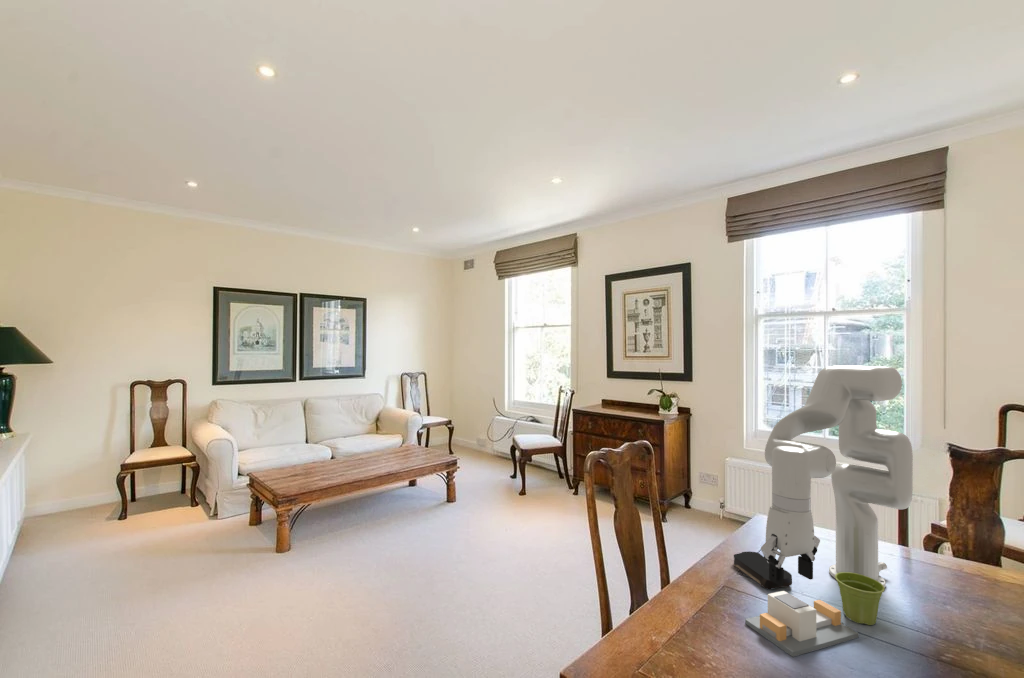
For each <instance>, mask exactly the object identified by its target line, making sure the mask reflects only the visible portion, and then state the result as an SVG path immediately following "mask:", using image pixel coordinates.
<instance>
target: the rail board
mask: <svg viewBox="0 0 1024 678" xmlns="http://www.w3.org/2000/svg"><path fill="white" fill-rule="evenodd" d="M810 606H811V605H810ZM811 607H813V608H815V609H816V637H815V638H811V639H807V640H803V641H800V642H799V641H798V640H796V639H795V638H793V637H792V629H791V628H789V627H788V626H786V625H785V624H783V623H782V622H780V621H779V620H777V619H776V618H774V617H773V616H771V615H769V614H768V612H763V613H760V614H759V615H758V616H757V615H756V616H753V617H749V618H745V620H744V622H745V625H747V626H748V627H750V628H751V629H753V630H754V631H755V632H756V633H758V634H759V635H761V636H762V637H764V638H765V639H767V640H768V641H770V642H771V643H772V644H774V646H777V647H778V648H779V649H781V650H782V651H784V653H787V654H788V655H789V656H791V657H792V658H794V657H797V656H801V655H805V654H807V653H811V652H814V651H818V650H821V649H824V648H828V647H830V646H831V647H832V646H835V645H838V644H841V643H846V642H848V641H852V640H855V639H858V638H859V636H860V633H859V632H858V631H856V630H854V629H852V628H850V627H849V626H847V625H845V624H844V623H842V611H841V610H839V609H838V608H836V607H835V606H833V605H830V604H829V603H827V602H825V601H824V600H821V599H817V600H813V606H811Z"/></svg>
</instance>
